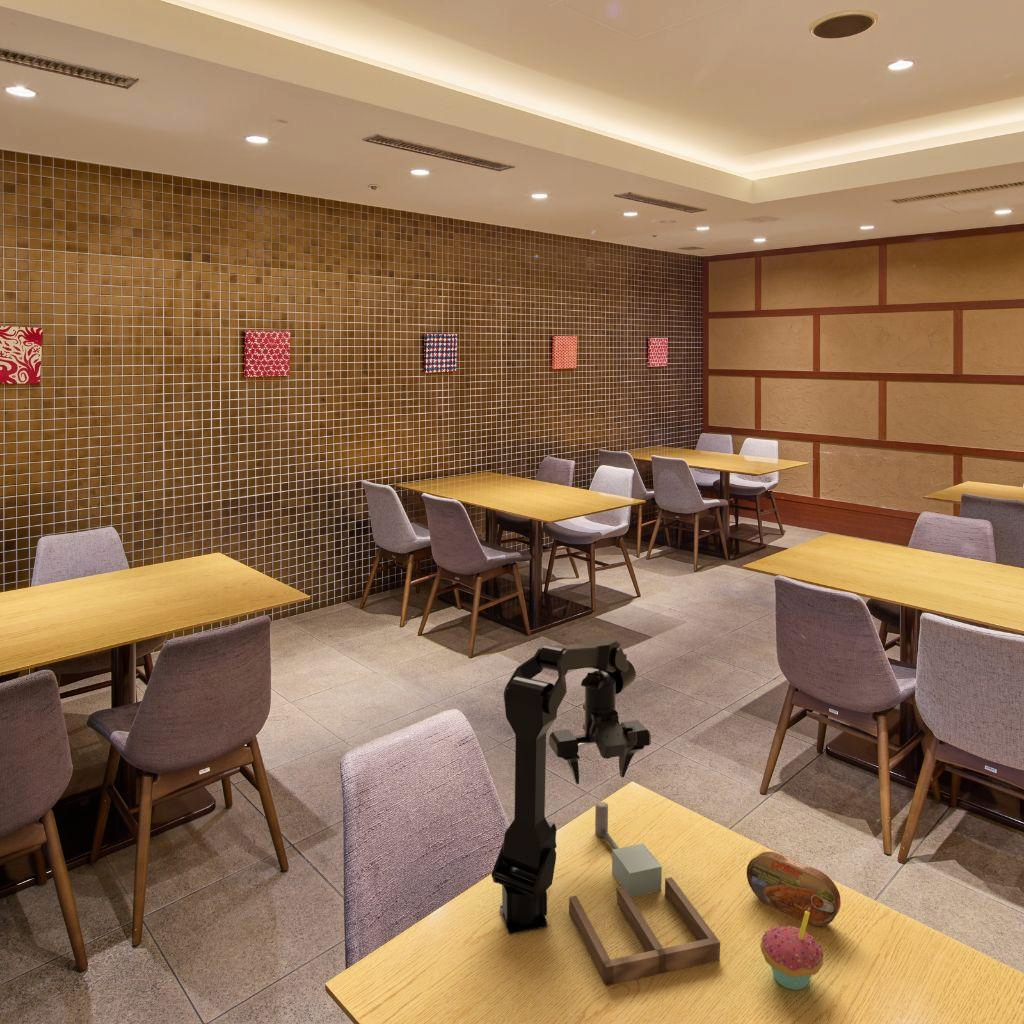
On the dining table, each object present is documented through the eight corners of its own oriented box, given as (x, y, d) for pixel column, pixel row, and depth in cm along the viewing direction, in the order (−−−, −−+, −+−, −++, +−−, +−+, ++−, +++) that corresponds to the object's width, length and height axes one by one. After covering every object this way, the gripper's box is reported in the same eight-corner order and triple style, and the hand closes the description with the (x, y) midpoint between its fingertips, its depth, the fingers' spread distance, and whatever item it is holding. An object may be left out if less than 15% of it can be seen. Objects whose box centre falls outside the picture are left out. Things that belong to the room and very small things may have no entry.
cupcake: (820, 964, 115) (824, 892, 113) (822, 1008, 107) (828, 930, 105) (759, 951, 118) (763, 880, 116) (758, 992, 110) (761, 917, 108)
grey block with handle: (629, 897, 130) (629, 865, 129) (584, 833, 149) (584, 804, 148) (661, 890, 132) (662, 858, 131) (613, 827, 151) (613, 799, 150)
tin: (744, 893, 131) (746, 848, 130) (753, 885, 133) (755, 840, 132) (833, 936, 121) (837, 888, 119) (841, 926, 123) (844, 878, 122)
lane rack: (605, 985, 111) (605, 967, 111) (569, 913, 127) (569, 896, 126) (719, 959, 116) (720, 942, 116) (671, 893, 131) (671, 877, 131)
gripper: (567, 727, 135) (567, 809, 137) (664, 714, 140) (662, 794, 142) (547, 702, 145) (548, 779, 148) (639, 691, 150) (637, 765, 153)
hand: (599, 779), depth 148 cm, fingers open, 9 cm apart
